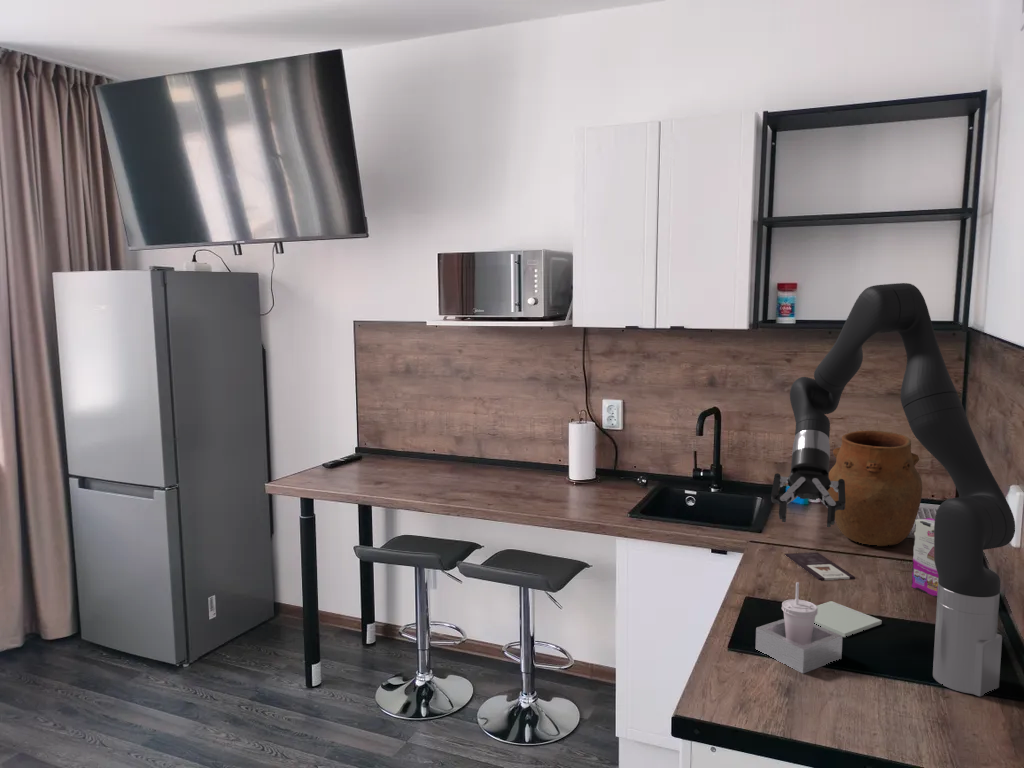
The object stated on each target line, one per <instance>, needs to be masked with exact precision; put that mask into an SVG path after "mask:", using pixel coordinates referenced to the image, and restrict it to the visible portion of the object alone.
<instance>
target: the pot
mask: <svg viewBox="0 0 1024 768" xmlns="http://www.w3.org/2000/svg"><path fill="white" fill-rule="evenodd" d="M832 453H833V456H834V457H835V458H836V460H835V461H836V462H835V464H834V465H833V466H832V468H830V469H829V479H830V481H839V479H843V480H844V481H845V500H846V503H845V509H844V510H836V511H835V523H836V525H837V528H838V529H839V530H840V532H841V534H842V535H844V537H845V538H847V539H849V540H851V541H853V542H855V543H857V542H859V543H858V544H860V543H863V544H869V545H868V546H870V545H877V546H876V547H888V545H889V546H894V545H898V544H900V543H901V542H903V541H904V540H905V539H907V537H909V535H910V533H911V531H912V529H913V528H914V526H915V520H917V519H916V518H917V517H918V513H919V510H920V506H921V501H922V496H923V481H922V477H921V475H920V473H919V471H918V470H917V469H916V467H915V466H916V464H917V463H919V461H920V457H919V455H918V454H916V453H914V452H912V440H911V438H909V437H908V436H906V435H903V434H900V433H897V432H892V431H891V432H890V431H884V430H856V431H852V432H848V433H845V434H843V435H842V436H841V445H840V447H836V448H834V449H832ZM828 493H829V494H830V496H831V498H832V499H833V500H834V501H838V492H835V491H834V488H833V487H830V489H829V490H828ZM863 544H862V545H863Z"/></svg>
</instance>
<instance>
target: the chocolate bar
mask: <svg viewBox="0 0 1024 768" xmlns="http://www.w3.org/2000/svg"><path fill="white" fill-rule="evenodd" d="M785 555H786V556H787V557H789V558H790V559H791V560H790V559H789V558H788V559H789V560H790V561H792V560H793V561H794V562H795V563H794V562H793V561H792V562H793V563H794V564H796V563H797V564H798V565H797V564H796V565H797V566H798V567H800V566H801V567H802V568H801V567H800V568H801V569H803V568H804V569H805V570H806V571H805V570H804V569H803V570H804V571H805V572H807V571H808V572H809V573H808V572H807V573H808V574H809V575H811V574H812V575H813V577H814V578H815V577H816V578H817V580H818V581H819V580H821V581H837V580H838V579H844V580H855V579H856V576H854V575H853V574H851V573H850V572H848V571H847V570H845V569H843V567H841V566H840V565H838V564H836V563H834V562H833V561H832V560H830V559H828V558H827V557H825V556H824V555H822V553H821V554H820V553H819V552H797V553H796V552H794V553H791V552H790V553H784V556H785ZM786 556H785V557H786ZM787 557H786V558H787ZM812 575H811V576H812ZM816 578H815V579H816Z"/></svg>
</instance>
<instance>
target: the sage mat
mask: <svg viewBox="0 0 1024 768" xmlns="http://www.w3.org/2000/svg"><path fill="white" fill-rule="evenodd" d="M816 606H817V608H818V610H817V611H818V614H817V615H816V616H815V621H814V623H815V624H817V625H819V626H821V627H823V628H825V629H827V630H830V631H832V632H834V633H837V634H839V635H842V638H847V637H850V636H852V634H853V635H856V634H857V633H860V632H864V631H866V630H870V629H872V628H875V627H877V626H880V625H882V619H879V618H877V617H874V616H872V615H868V614H865V613H864V612H861V611H858V610H856V609H853V608H851V607H847V606H845V605H843V604H840V603H838V602H835V601H832V600H830V601H827V602H824V603H821V604H818V605H816ZM863 630H864V631H863ZM846 636H847V637H846Z"/></svg>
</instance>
